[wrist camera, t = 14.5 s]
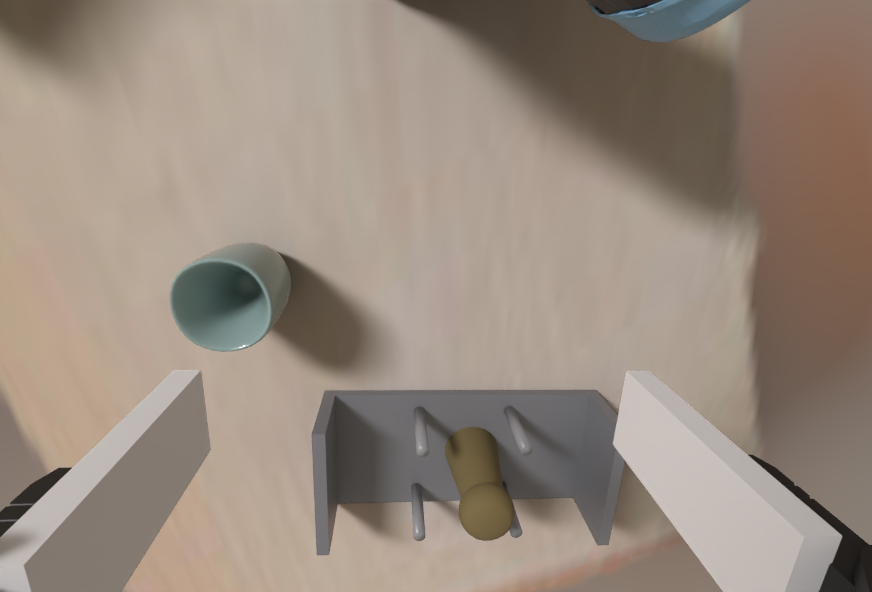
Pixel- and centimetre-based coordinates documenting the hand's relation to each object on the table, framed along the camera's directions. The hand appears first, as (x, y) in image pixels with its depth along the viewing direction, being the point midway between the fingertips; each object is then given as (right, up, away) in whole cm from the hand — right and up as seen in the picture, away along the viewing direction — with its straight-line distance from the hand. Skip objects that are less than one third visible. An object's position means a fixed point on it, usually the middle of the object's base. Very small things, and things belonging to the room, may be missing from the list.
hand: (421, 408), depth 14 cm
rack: (+3, -14, +38) cm, 40 cm away
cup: (-17, +6, +30) cm, 35 cm away
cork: (+4, -14, +37) cm, 40 cm away
